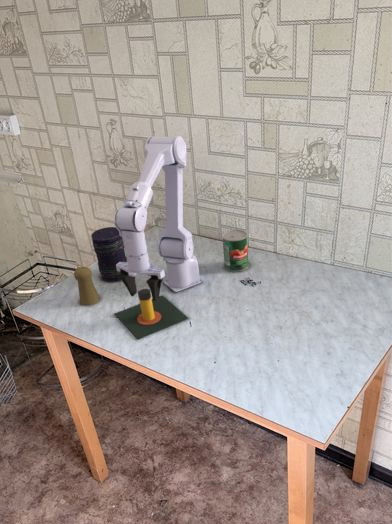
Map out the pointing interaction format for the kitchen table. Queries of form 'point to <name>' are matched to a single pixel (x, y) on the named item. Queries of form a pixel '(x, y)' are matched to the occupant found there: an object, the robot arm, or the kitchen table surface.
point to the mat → (163, 318)
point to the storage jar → (108, 252)
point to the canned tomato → (235, 250)
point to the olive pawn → (86, 286)
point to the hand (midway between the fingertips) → (145, 296)
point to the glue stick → (146, 304)
